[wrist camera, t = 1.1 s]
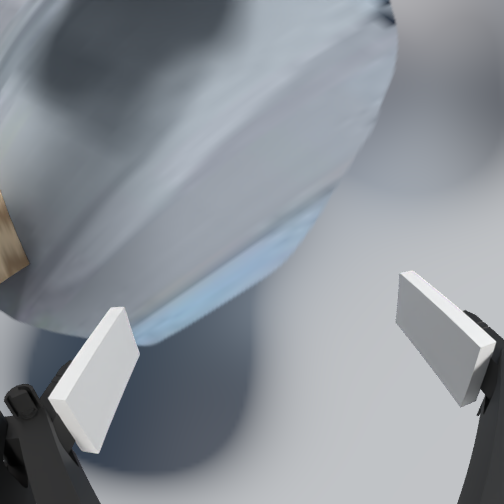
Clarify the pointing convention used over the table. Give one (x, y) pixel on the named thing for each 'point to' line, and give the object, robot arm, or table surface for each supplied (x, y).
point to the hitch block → (9, 246)
